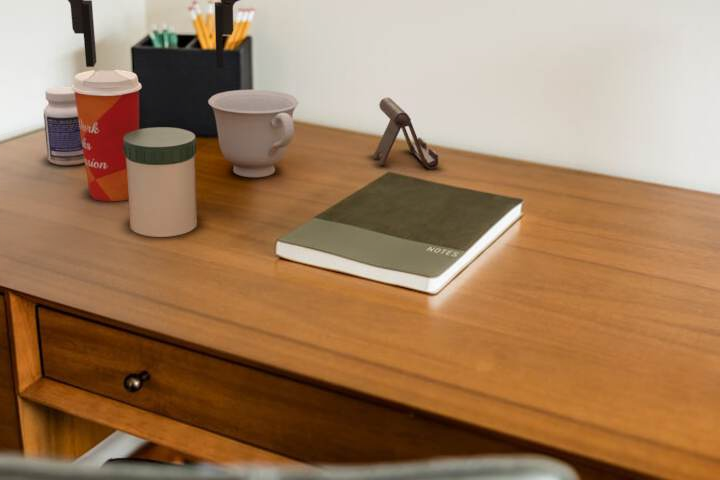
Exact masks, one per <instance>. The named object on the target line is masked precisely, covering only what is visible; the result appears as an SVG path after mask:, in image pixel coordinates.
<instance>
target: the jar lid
mask: <svg viewBox="0 0 720 480" xmlns="http://www.w3.org/2000/svg"><path fill="white" fill-rule="evenodd" d="M123 141H124V143H123V154H124V155H125V157H127V158H128V159H130V160H133V161H136V162H142V163H152V164H163V163H174V162H179V161H183V160H187V159H189V158H191V157H193V156H194V155H195V156H196V154H197V139H196V135H195V133H194V132H192V131H190V130H187V129H183V128H179V127H168V126H166V127H164V126H157V127H145V128H139V130H135V131H132V132H129V133H127V134H126V135H124V137H123Z"/></svg>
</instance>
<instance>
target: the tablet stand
mask: <svg viewBox="0 0 720 480" xmlns="http://www.w3.org/2000/svg"><path fill="white" fill-rule="evenodd" d="M378 104H379V109H380V110H381V112H382V113H384V115H386V116H387V118H389V122H388V123H387V126H386V128H385V130H384V132H383V134H382V137H381V139H380V141H379V143H378V145H377V147H376V148H375V151H374V153H373V158H374V160H376V161H377V160H378V158H379V156H380V155H381V157H380V160H379V162H378V165H379V166H380V167H383V166H384V165H385V163H386V161H387V158H388V157H389V154H390V152H391V150H392V148H393V146H394V143H395V142H396V140H397V137H398V136H399V133H400V131H402V134H403V136H404V138H405V142H406V144H407V146H408V149H409V151H410V152H411V153H412V154H414V156H415V157H416V158H417V159H418V160H419V161H420V162H421V163H422V165H423V166H424V167H425V168H426V169H429V170H433V169H435V168H437V167H438V165H439V154H438V153H437V152H436V151H435V150H434V149H433V148H431V147H430V148H429V149H428V148H427V147H428V145H427V143H426V141H425V140H424V139H422V137H418V135H417V134H416V131H415V128H414V126H413V123H412V119H411V117H410V116H409V114H408V113H407V112H405V111H404V109H403V108H401V107H400V105H398V104H397V102H395V101H394V100H393V99H392V98H391V97H384V98H382V99H381V100H380V102H379V103H378ZM406 127H408V128H409V132H410V134H411V137H412V139H413V142H414V144H412V141H411V139H410V136H409V134H408V131H407V128H406Z"/></svg>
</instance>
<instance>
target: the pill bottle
mask: <svg viewBox="0 0 720 480" xmlns="http://www.w3.org/2000/svg"><path fill="white" fill-rule="evenodd" d="M71 87H72V86H55V87H50V88H47V89H45V99H46V101H47V102H48V104H47V105H46V106H45V107H44V109H43V123H44V132H45V144H46V153H47V154H46V155H47V160H48V161H49V162H50V163H51V164H54V165H57V166H76V165H81V164H85V161H84V154H83V147H82V140H81V134H80V127H79V120H78V113H77V106H76V99H75V92H74V91H72V90H71Z"/></svg>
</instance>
